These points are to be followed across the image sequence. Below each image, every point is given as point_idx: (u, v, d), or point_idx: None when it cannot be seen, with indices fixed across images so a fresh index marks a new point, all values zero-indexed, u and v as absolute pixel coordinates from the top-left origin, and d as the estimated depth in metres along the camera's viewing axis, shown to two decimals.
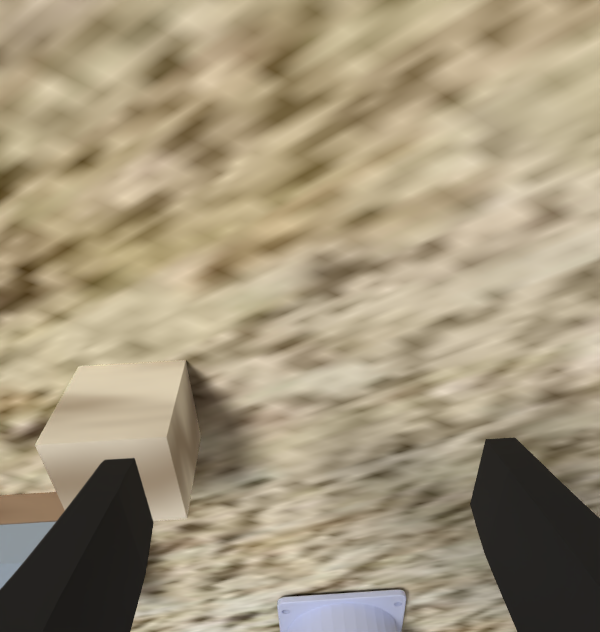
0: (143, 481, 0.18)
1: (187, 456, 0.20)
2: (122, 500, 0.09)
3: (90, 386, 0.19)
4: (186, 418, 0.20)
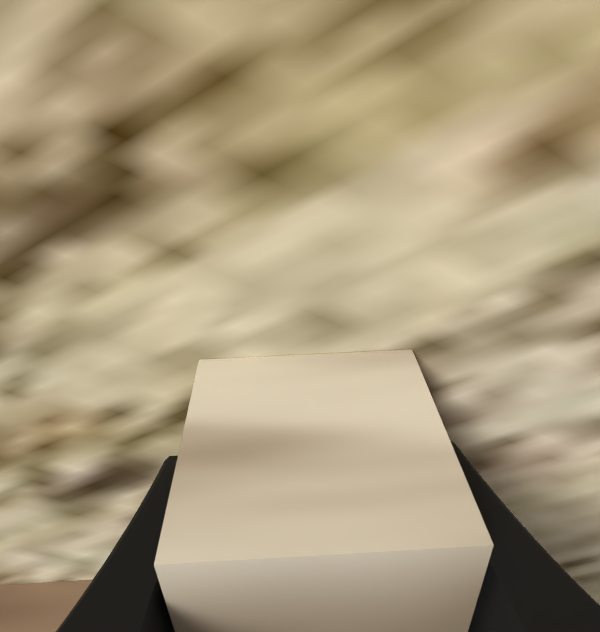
0: None
1: None
2: None
3: (239, 405, 0.09)
4: None
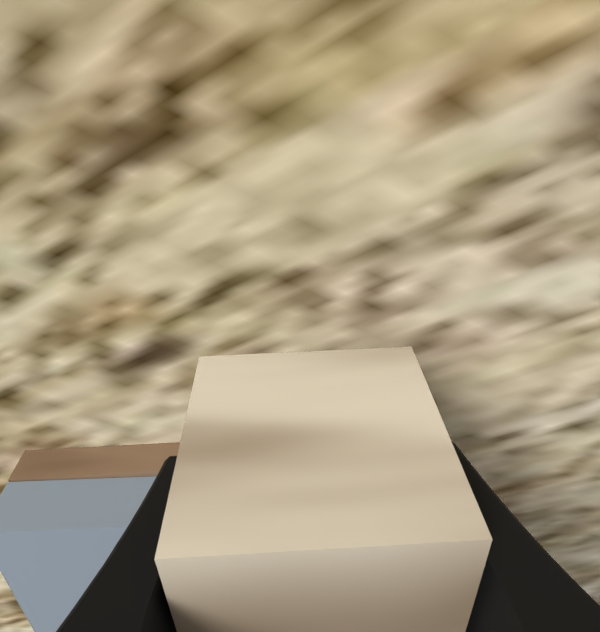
0: (389, 629, 0.08)
1: None
2: None
3: (239, 401, 0.09)
4: None
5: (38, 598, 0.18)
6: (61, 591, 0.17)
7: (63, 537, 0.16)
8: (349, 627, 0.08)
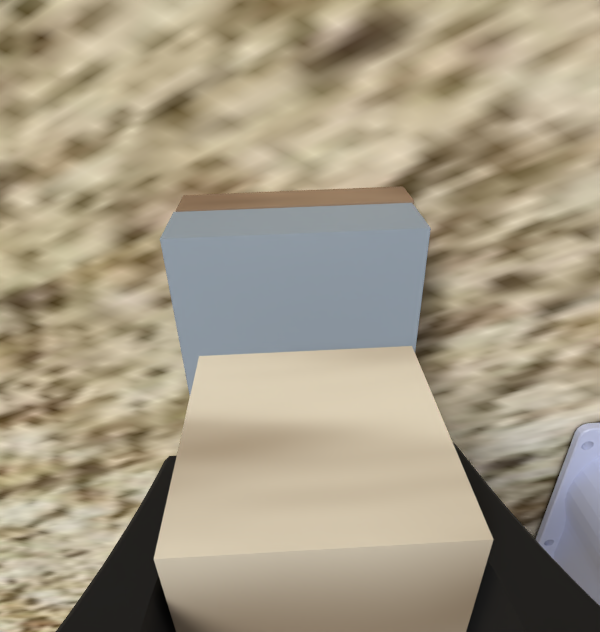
0: (389, 629, 0.08)
1: None
2: None
3: (239, 401, 0.09)
4: None
5: None
6: (237, 349, 0.14)
7: (259, 250, 0.13)
8: (349, 627, 0.07)
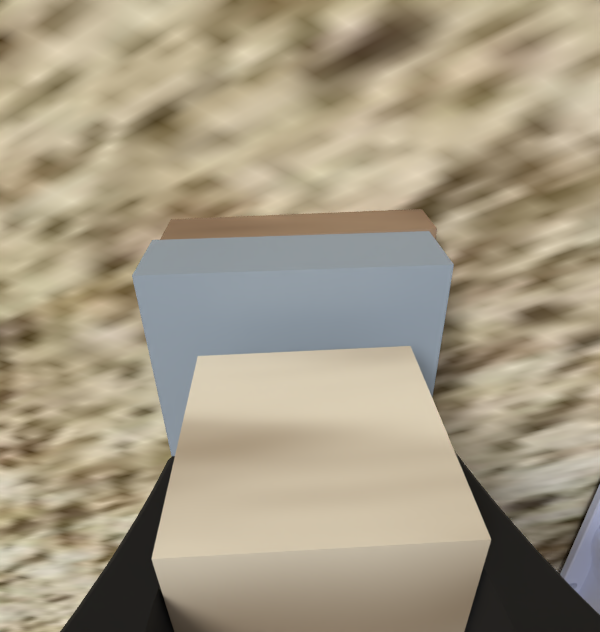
0: (388, 629, 0.08)
1: None
2: None
3: (238, 401, 0.09)
4: None
5: None
6: None
7: (250, 288, 0.11)
8: (347, 627, 0.07)
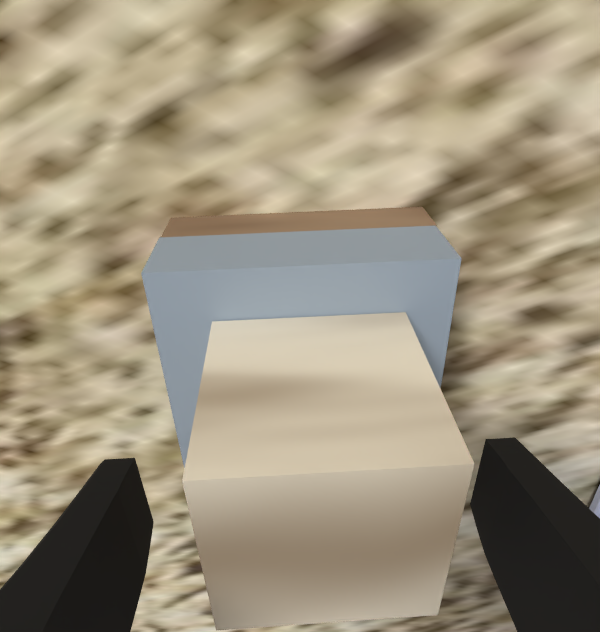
0: (385, 551, 0.09)
1: None
2: (122, 500, 0.09)
3: (250, 358, 0.10)
4: None
5: None
6: None
7: (259, 284, 0.11)
8: (350, 550, 0.09)
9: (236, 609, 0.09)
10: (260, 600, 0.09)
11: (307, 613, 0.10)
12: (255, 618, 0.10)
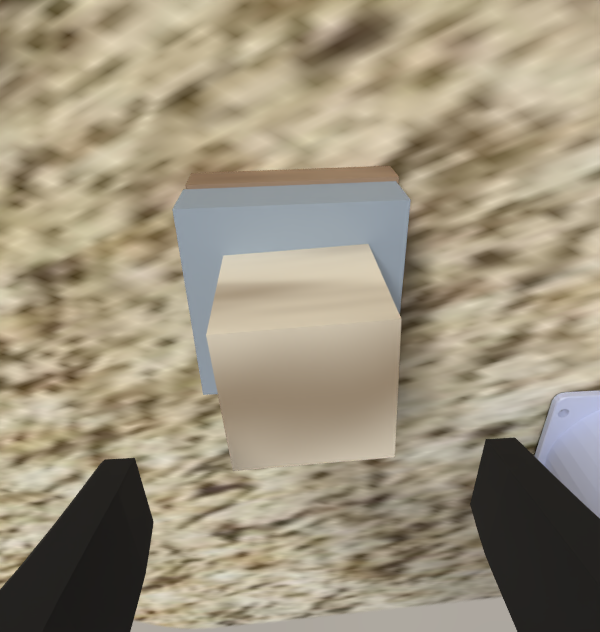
0: (349, 396, 0.12)
1: None
2: (122, 500, 0.09)
3: (251, 274, 0.14)
4: None
5: None
6: None
7: (260, 219, 0.14)
8: (324, 394, 0.12)
9: (246, 450, 0.13)
10: (263, 442, 0.13)
11: (298, 454, 0.13)
12: (260, 459, 0.13)
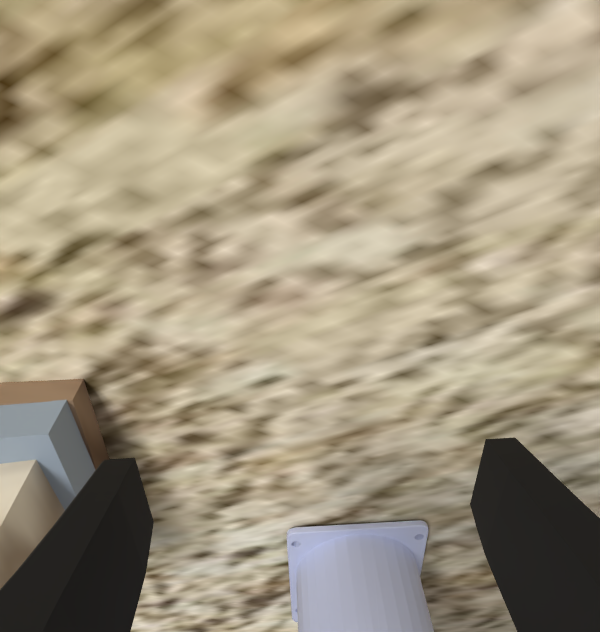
0: None
1: None
2: (122, 500, 0.09)
3: None
4: (35, 526, 0.19)
5: None
6: None
7: None
8: None
9: None
10: None
11: None
12: None
